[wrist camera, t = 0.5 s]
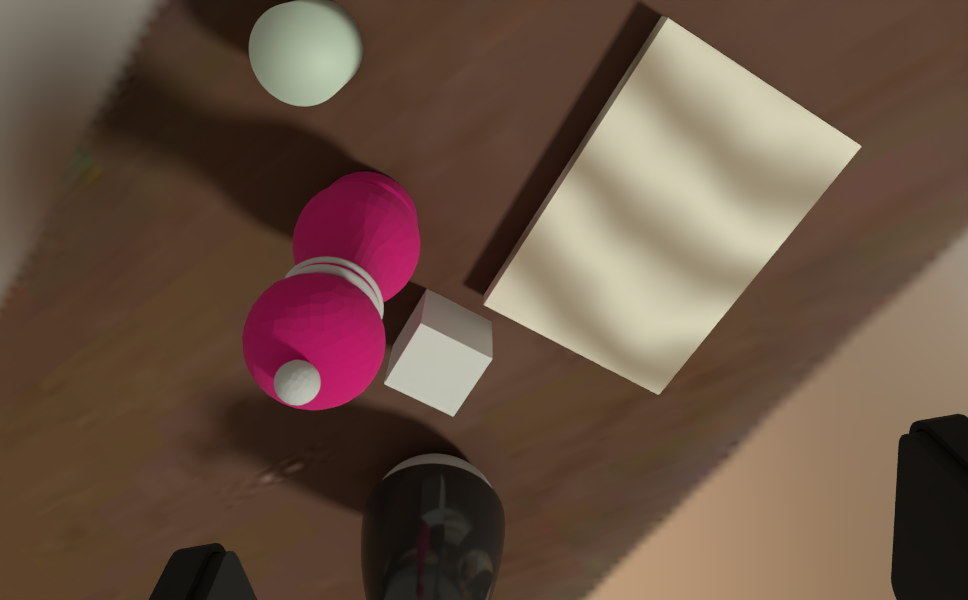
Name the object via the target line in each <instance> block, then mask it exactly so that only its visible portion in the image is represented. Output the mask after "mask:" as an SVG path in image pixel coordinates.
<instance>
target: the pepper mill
mask: <svg viewBox="0 0 968 600" xmlns="http://www.w3.org/2000/svg"><path fill="white" fill-rule="evenodd" d="M417 223H418V219H417V213H416V209H415V206H414V203H413V201H412V199H411V198H410V196H409V194H408V193H407V192H406V190H405V189H404V188H403V187H402V186H401V185H400V184H398V183H397V182H396V181H394V180H393V179H391V178H389V177H387V176H385V175H383V174H379V173H375V172H367V171H365V172H355V173H351V174H348V175H345V176H343V177H341V178H339V179H338V180H336V181H335V182H334V183H333V184H331V185H330V186H329V187H328V188H325V189H324V190H322V191H320V192H319V193H318V194H316V195H315V196H314V197H312V199H311V200H310V201H309V202H308V203H307V204H306V205H305V207H304V209H303V210H302V212H301V214H300V216H299V218H298V220H297V223H296V226H295V229H294V234H293V253H294V259H295V264H296V266H295V267H293V268H292V269H291V270H290V271H289V272H288V274H287V275H286V276H285V278H284V279H282V280H280V281H278V282H276V283H274V284H273V285H272V286H271V287H269V288H268V289H267V290H266V291H264V292H263V294H262V295H261V296H260V297H259V299H258V300H257V301H256V302H255V304H254V305H253V306H252V308H251V310H250V312H249V314H248V317H247V320H246V323H245V326H244V330H243V336H242V341H243V354H244V358H245V362H246V365H247V367H248V369H249V372H250V374H251V375H252V377H253V378H254V380H255V381H256V383H257V384H258V386H259V387H260V388H261V389H262V390H264V391H265V392H266V393H267V394H268V395H269V396H270V397H272V398H274V399H276V400H277V401H279V402H281V403H283V404H285V405H288V406H291V407H294V408H297V409H305V410H324V409H329V408H333V407H337V406H340V405H342V404H345V403H347V402H349V401H350V400H352V399H353V398H355V397H357V396H358V395H359V394H360V393H362V392H363V391H364V390H365V389H366V388H367V386H368V385H369V384H370V383H371V382H372V381H373V379H374V377H375V375H376V373H377V371H378V370H379V368H380V366H381V363H382V360H383V357H384V351H385V341H386V339H385V328H384V325H383V322H382V318H383V312H384V304H383V302H385V301H387V300H389V299H390V298H392V297H393V296H394V295H396V294H397V293H398V292H399V291H400V290H401V289H402V288H403V287H404V286H405V285H406V284H407V282H408V281H409V279H410V277H411V276H412V274H413V272H414V270H415V267H416V265H417V262H418V259H419V254H420V235H419V230H418V227H417Z"/></svg>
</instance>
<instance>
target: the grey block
mask: <svg viewBox="0 0 968 600" xmlns="http://www.w3.org/2000/svg"><path fill="white" fill-rule="evenodd" d="M491 360H492V322H491V321H489V320H487V319H485V318H484V317H482V316H480V315H478V314H476V313H474V312H472V311H470V310H468V309H466V308H464V307H462V306H460V305H458V304H456V303H454V302H452V301H450V300H448V299H446V298H444V297H442V296H440V295H439V294H437V293H435V292H433V291H431V290H429V289H426V291H425V292H424V294H423V296H422V298H421V299H420V301H419V303H418V304H417V306H416V308H415V309H414V311H413V313H412V314H411V316H410V318H409V319H408V321H407V323H406V324H405V326H404V328H403V329H402V331H401V333H400V334H399V336H398V338H397V339H396V341H395V343H394V344H393V347H392V352H391V356H390V360H389V364H388V369H387V373H386V377H385V382H384V384H385V385H387V386H389V387H392V388H394V389H396V390H398V391H400V392H402V393H404V394H406V395H409V396H411V397H413V398H415V399H417V400H419V401H421V402H423V403H426V404H428V405H430V406H432V407H434V408H436V409H438V410H440V411H442V412H445V413H447V414H449V415H451V416H453V417H454V415H455V414H456V412H457V411H458V409H459V408H460V406H461V405H462V403H463V402H464V400H465V399H466V397H467V396H468V394H469V393H470V391H471V390H472V388H473V387H474V385H475V384H476V383H477V381H478V380H479V378H480V377H481V375H482V374H483V372H484V371H485V369H486V368H487V366H488V365H489V363H490V362H491Z"/></svg>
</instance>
